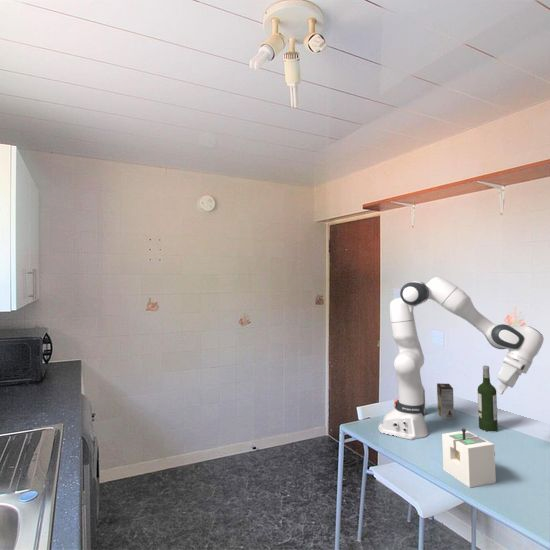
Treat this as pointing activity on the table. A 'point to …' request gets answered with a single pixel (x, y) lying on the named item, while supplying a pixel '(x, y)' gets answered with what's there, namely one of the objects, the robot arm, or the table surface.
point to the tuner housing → (469, 458)
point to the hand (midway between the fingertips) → (499, 393)
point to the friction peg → (463, 439)
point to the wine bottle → (487, 403)
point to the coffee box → (445, 401)
